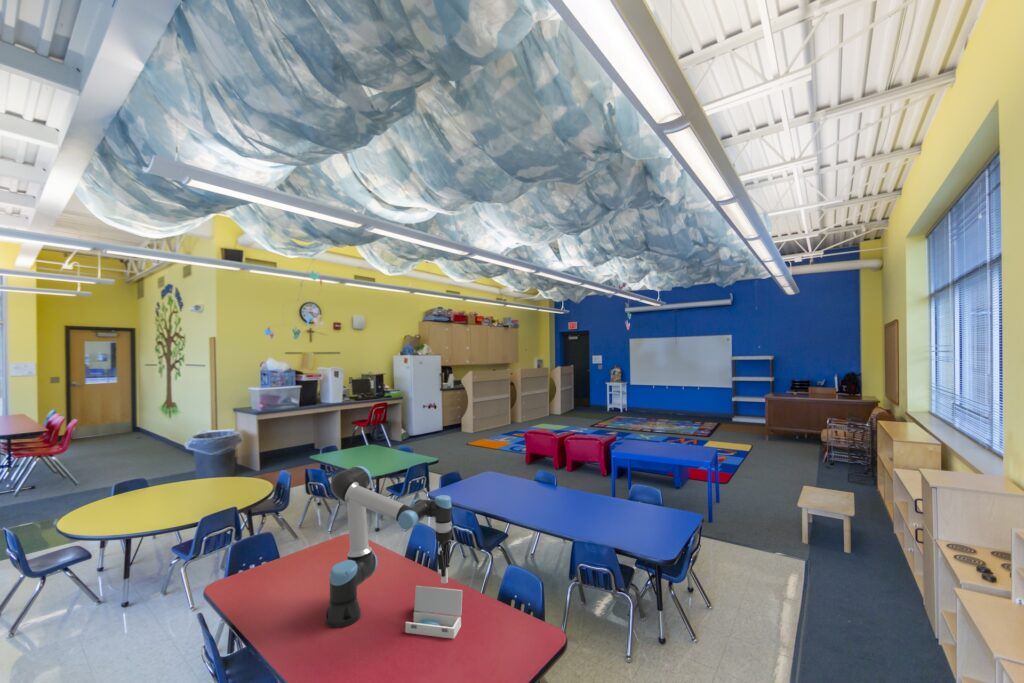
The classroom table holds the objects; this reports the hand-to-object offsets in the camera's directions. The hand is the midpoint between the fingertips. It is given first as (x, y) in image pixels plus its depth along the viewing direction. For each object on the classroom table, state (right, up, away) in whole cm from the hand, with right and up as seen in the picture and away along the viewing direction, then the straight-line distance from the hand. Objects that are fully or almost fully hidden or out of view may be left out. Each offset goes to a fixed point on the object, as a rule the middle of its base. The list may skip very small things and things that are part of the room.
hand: (444, 582), depth 201 cm
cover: (-2, -4, -7) cm, 9 cm away
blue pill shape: (-5, -14, -12) cm, 19 cm away
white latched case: (-3, -13, -13) cm, 19 cm away
